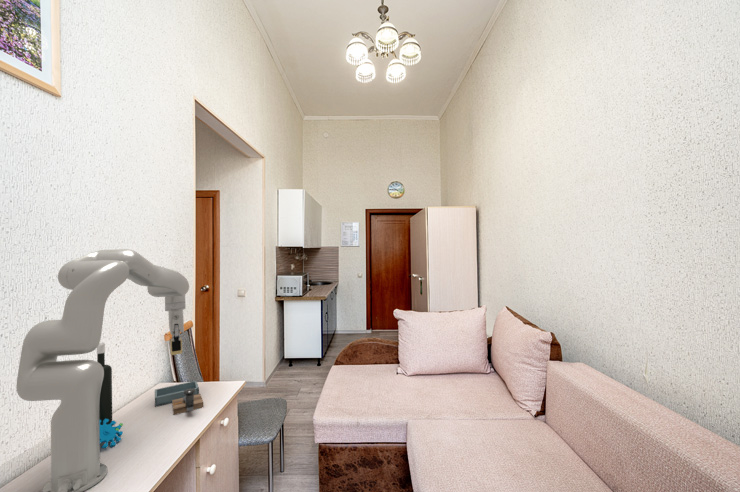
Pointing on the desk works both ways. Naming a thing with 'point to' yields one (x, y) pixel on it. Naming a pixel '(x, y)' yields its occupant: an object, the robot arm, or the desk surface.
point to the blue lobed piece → (109, 433)
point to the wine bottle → (105, 387)
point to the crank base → (181, 406)
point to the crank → (189, 398)
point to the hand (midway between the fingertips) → (176, 349)
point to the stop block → (175, 351)
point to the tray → (173, 393)
